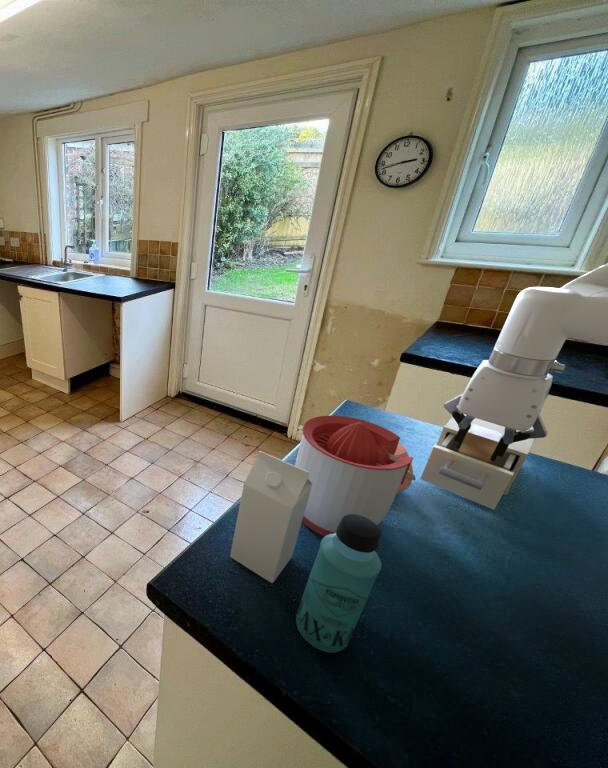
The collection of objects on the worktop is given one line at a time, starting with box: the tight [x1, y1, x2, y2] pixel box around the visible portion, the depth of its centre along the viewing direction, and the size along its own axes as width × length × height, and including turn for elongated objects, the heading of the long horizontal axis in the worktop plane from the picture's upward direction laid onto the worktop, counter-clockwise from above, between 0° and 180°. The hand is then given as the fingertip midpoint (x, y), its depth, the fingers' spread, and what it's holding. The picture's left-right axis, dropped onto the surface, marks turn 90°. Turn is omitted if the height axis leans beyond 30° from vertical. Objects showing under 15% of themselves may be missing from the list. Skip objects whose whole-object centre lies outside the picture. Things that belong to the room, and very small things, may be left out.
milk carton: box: [229, 450, 312, 584], centre depth 63 cm, size 7×7×19 cm
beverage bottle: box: [295, 514, 382, 654], centre depth 51 cm, size 6×7×20 cm
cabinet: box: [435, 414, 536, 496], centre depth 86 cm, size 15×13×10 cm
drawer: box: [419, 433, 516, 511], centre depth 79 cm, size 19×11×8 cm, turn 130°
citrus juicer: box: [294, 415, 416, 537], centre depth 70 cm, size 16×17×20 cm
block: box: [459, 424, 503, 462], centre depth 77 cm, size 4×4×4 cm
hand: (476, 450), depth 78 cm, fingers closed on block, 4 cm apart
